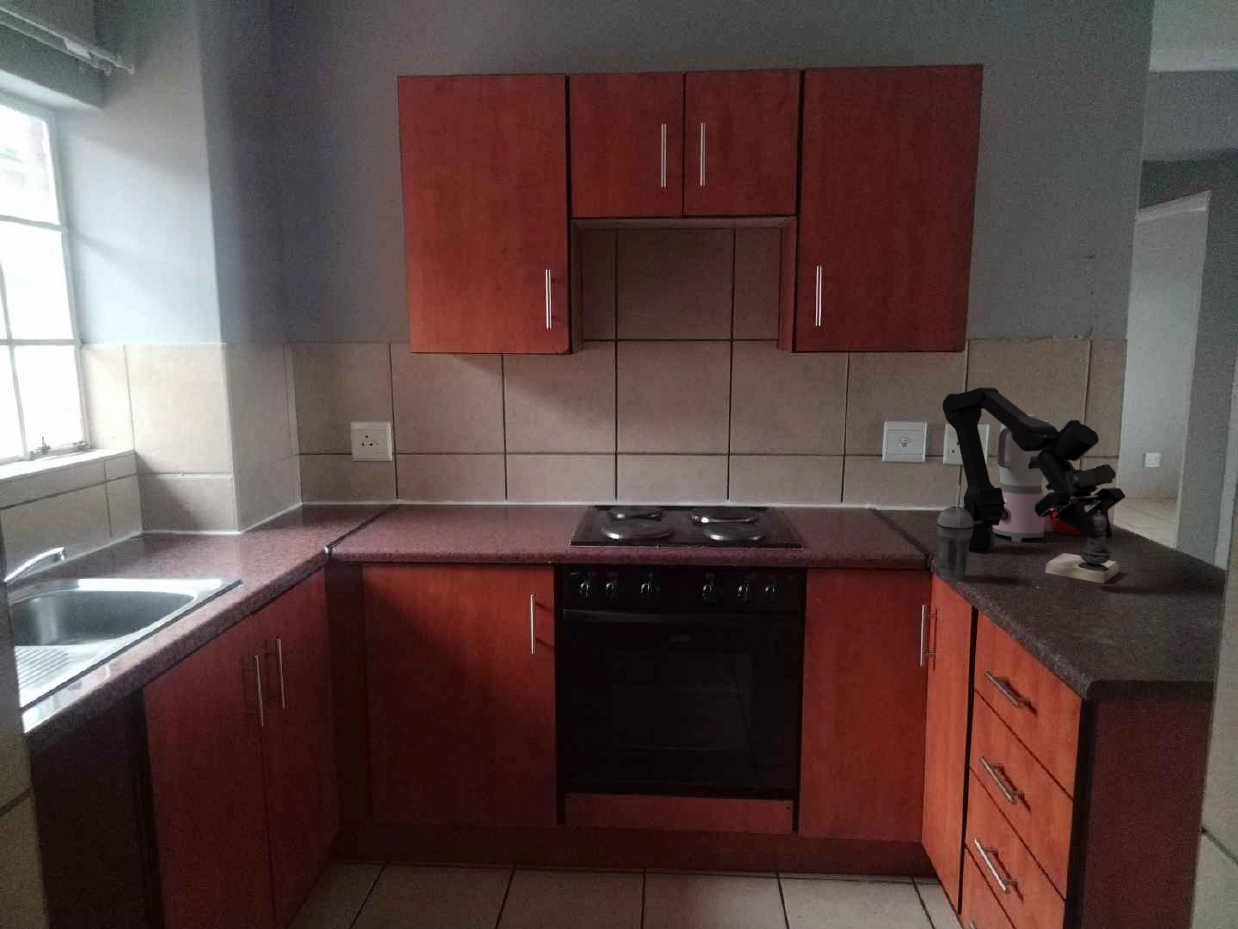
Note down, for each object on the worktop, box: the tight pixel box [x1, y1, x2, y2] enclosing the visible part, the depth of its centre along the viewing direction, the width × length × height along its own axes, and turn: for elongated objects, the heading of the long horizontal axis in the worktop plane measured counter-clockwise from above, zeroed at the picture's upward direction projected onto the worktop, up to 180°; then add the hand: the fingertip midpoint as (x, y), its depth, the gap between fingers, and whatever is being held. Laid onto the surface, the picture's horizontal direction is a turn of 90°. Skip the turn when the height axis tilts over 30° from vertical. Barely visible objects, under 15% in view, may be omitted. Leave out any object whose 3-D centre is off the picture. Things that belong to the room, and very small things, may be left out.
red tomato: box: [1047, 508, 1086, 536], centre depth 199 cm, size 10×10×9 cm
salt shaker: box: [1077, 510, 1113, 572], centre depth 150 cm, size 6×6×12 cm
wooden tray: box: [1044, 552, 1119, 584], centre depth 162 cm, size 11×11×2 cm
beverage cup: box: [936, 484, 974, 582], centre depth 158 cm, size 7×7×20 cm
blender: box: [993, 413, 1051, 543], centre depth 191 cm, size 16×12×32 cm
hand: (1102, 537), depth 148 cm, fingers closed on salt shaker, 3 cm apart
